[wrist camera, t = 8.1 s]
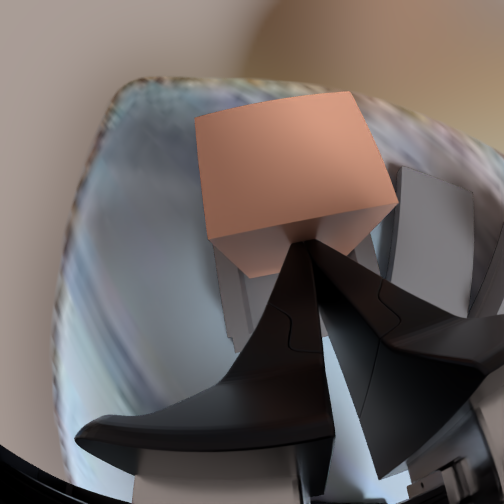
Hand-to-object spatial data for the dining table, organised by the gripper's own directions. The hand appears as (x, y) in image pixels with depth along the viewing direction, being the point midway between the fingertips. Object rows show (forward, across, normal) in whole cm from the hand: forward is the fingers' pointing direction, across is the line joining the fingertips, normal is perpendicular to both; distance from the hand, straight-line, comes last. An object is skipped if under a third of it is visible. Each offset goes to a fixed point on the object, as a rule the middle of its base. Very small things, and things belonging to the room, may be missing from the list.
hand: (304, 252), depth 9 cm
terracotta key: (+5, 0, +2) cm, 6 cm away
